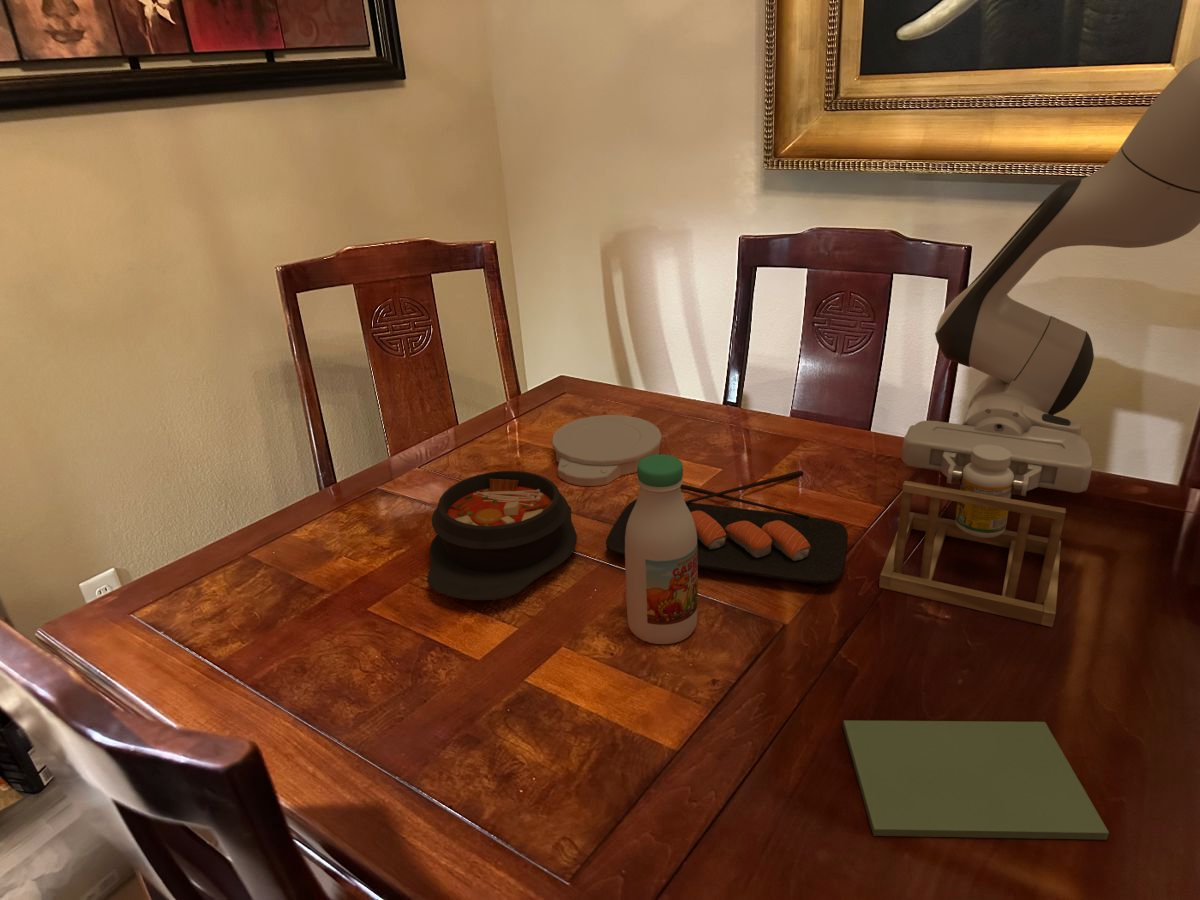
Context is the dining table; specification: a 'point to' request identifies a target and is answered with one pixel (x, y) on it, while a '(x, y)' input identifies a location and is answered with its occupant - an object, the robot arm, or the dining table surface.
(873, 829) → the mat
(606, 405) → the dining table surface
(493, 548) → the casserole
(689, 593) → the milk bottle
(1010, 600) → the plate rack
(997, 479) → the supplement bottle
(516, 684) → the dining table surface
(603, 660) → the dining table surface
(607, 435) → the kitchen scale
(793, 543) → the sushi plate
